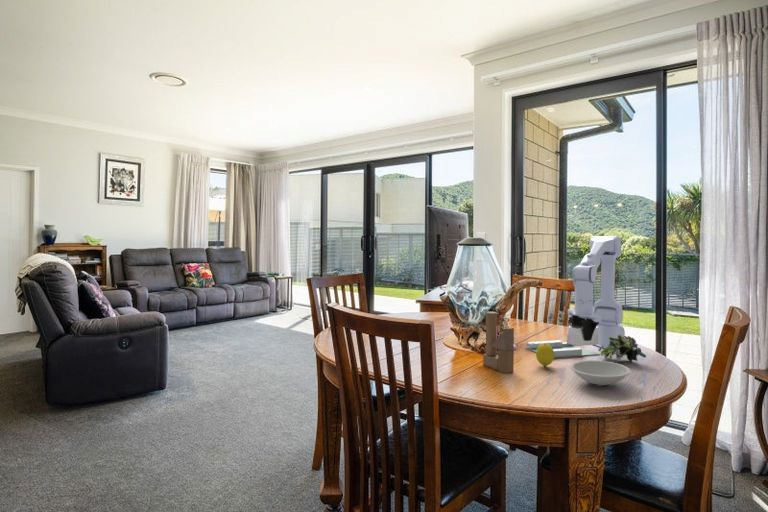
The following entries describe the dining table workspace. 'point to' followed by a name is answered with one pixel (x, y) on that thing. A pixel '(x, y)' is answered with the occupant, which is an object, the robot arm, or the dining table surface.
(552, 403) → the dining table surface
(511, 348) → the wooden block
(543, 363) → the lemon
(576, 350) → the vise base
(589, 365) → the dish
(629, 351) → the green leafy plant
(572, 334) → the steel block
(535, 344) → the block
